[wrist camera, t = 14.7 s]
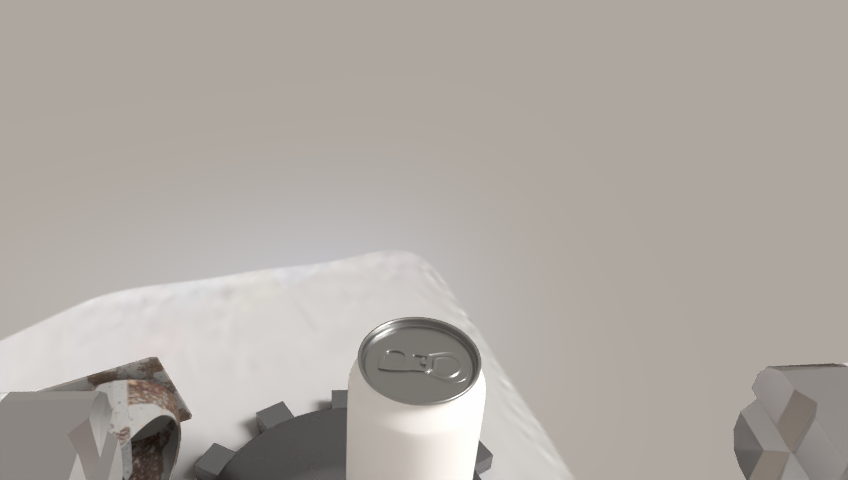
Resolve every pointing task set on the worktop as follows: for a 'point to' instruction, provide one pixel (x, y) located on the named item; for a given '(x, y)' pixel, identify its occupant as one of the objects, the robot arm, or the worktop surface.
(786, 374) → the robot arm
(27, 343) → the worktop surface
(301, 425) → the sprocket plate
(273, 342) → the worktop surface
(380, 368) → the can
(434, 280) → the worktop surface
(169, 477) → the caster wheel
